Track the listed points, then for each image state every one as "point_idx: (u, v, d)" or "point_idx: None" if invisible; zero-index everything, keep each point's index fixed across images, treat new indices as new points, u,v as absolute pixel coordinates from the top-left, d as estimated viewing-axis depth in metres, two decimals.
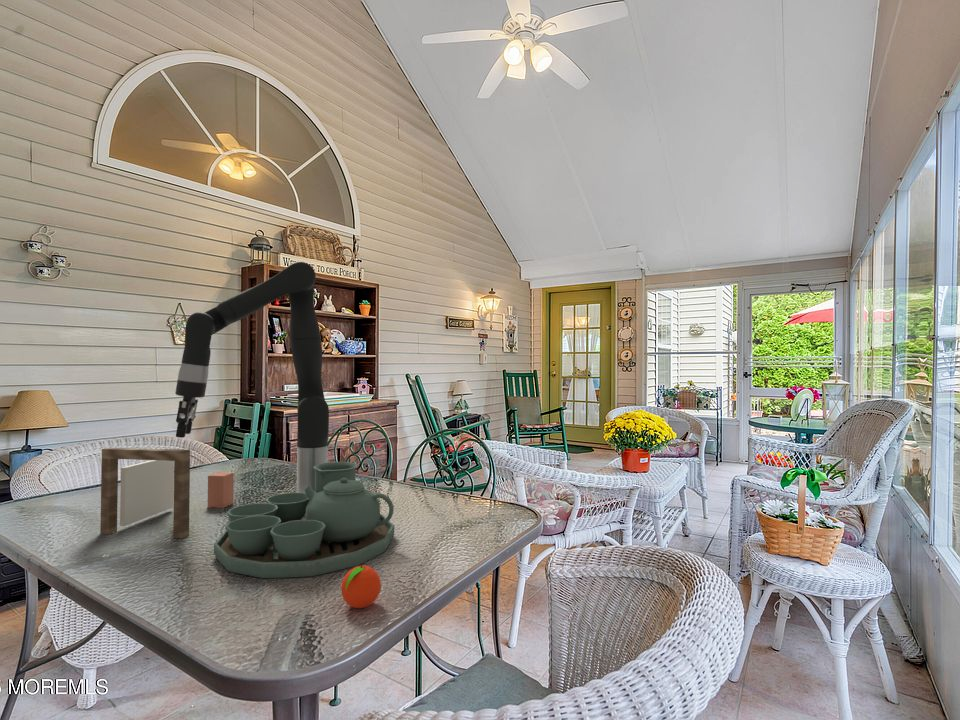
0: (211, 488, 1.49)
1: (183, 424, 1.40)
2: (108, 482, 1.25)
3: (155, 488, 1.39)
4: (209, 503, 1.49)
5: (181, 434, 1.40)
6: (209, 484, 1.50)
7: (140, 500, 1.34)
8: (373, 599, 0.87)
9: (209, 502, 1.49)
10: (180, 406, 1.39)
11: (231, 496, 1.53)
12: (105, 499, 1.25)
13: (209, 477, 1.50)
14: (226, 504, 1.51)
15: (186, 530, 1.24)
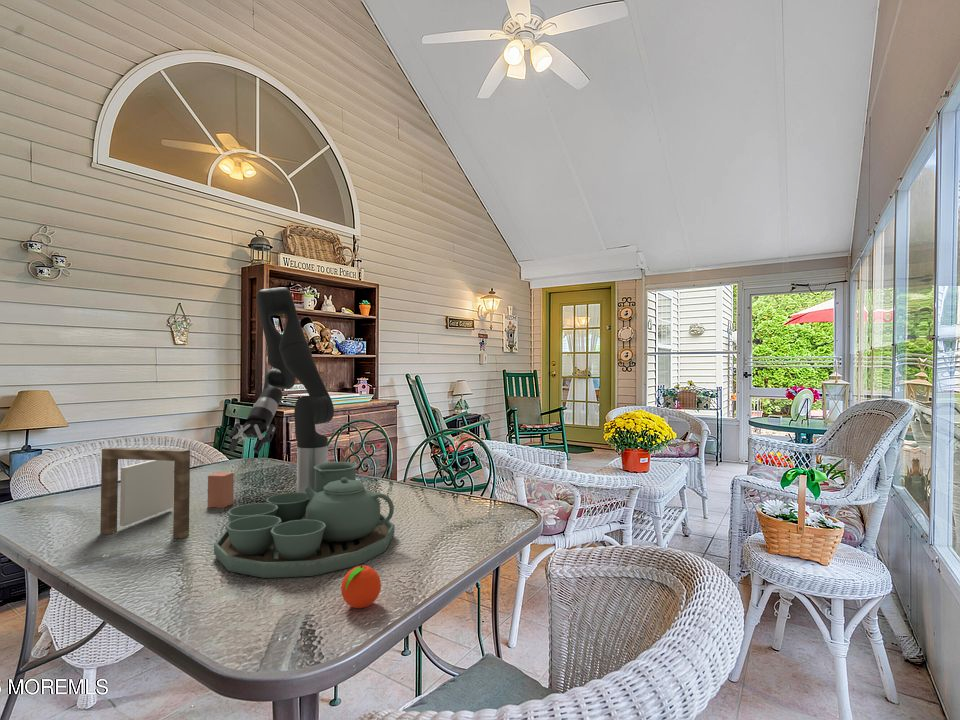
0: (211, 488, 1.49)
1: (232, 440, 1.66)
2: (108, 482, 1.25)
3: (155, 488, 1.39)
4: (209, 503, 1.49)
5: None
6: (209, 484, 1.50)
7: (140, 500, 1.34)
8: (373, 599, 0.87)
9: (209, 502, 1.49)
10: None
11: (231, 496, 1.53)
12: (105, 499, 1.25)
13: (209, 477, 1.50)
14: (226, 504, 1.51)
15: (186, 530, 1.24)
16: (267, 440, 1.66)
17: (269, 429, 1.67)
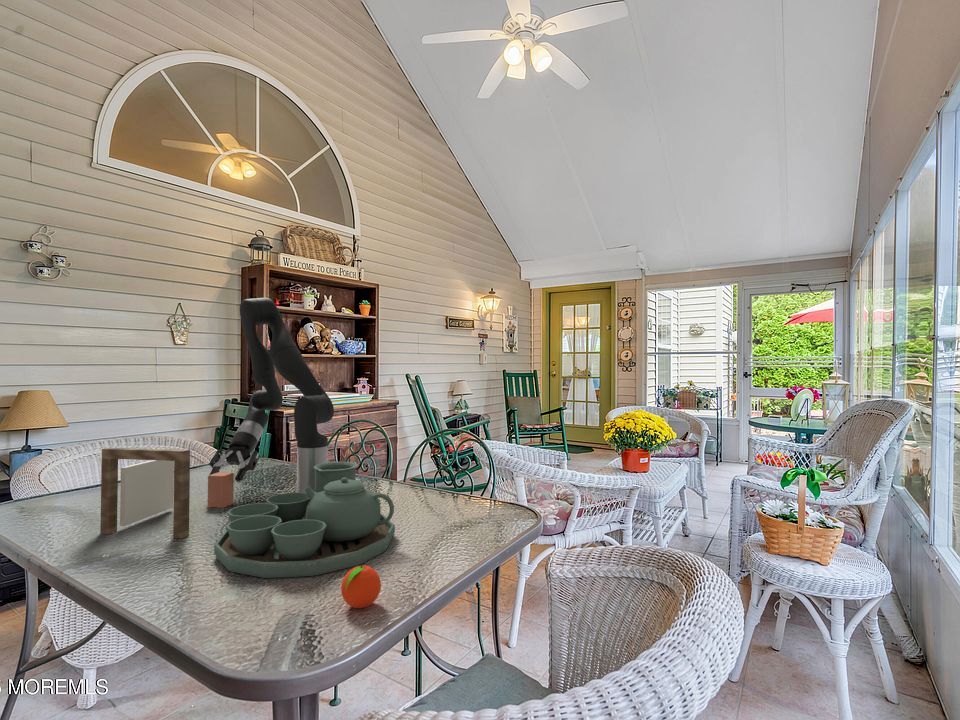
0: (211, 488, 1.49)
1: (213, 467, 1.57)
2: (108, 482, 1.25)
3: (155, 488, 1.39)
4: (209, 503, 1.49)
5: None
6: (209, 484, 1.50)
7: (140, 500, 1.34)
8: (373, 599, 0.87)
9: (209, 502, 1.49)
10: None
11: (231, 496, 1.53)
12: (105, 499, 1.25)
13: (209, 477, 1.50)
14: (226, 504, 1.51)
15: (186, 530, 1.24)
16: (250, 468, 1.56)
17: (252, 456, 1.58)
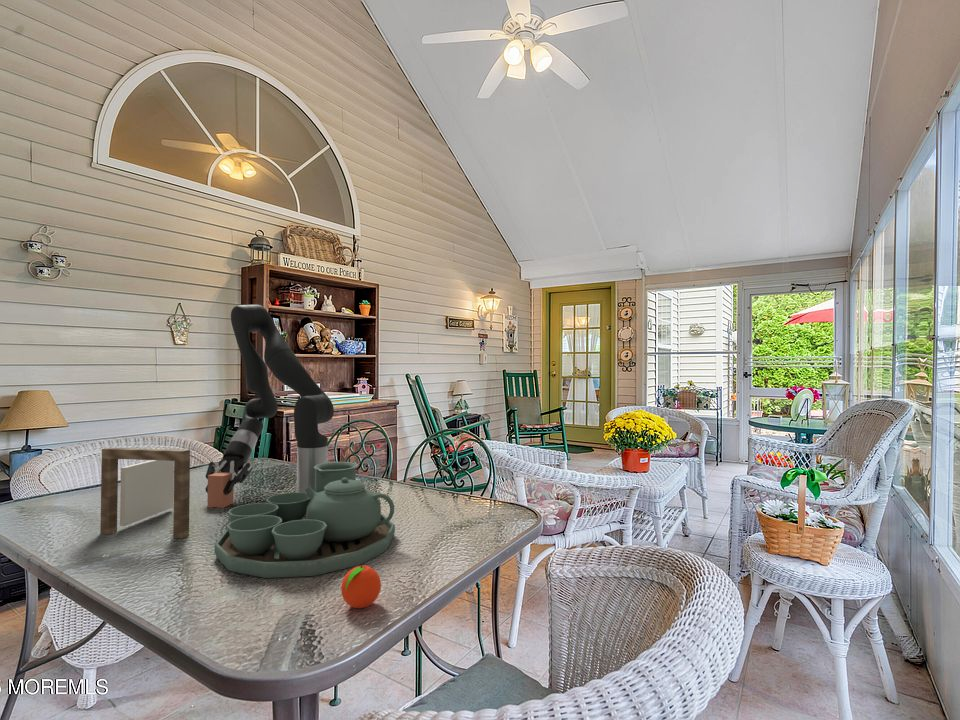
0: (211, 488, 1.49)
1: None
2: (108, 482, 1.25)
3: (155, 488, 1.39)
4: (208, 503, 1.49)
5: None
6: (209, 484, 1.50)
7: (140, 500, 1.34)
8: (373, 599, 0.87)
9: (209, 502, 1.49)
10: None
11: (231, 496, 1.53)
12: (105, 499, 1.25)
13: (209, 477, 1.50)
14: (226, 504, 1.51)
15: (186, 530, 1.24)
16: (238, 480, 1.52)
17: (244, 468, 1.54)
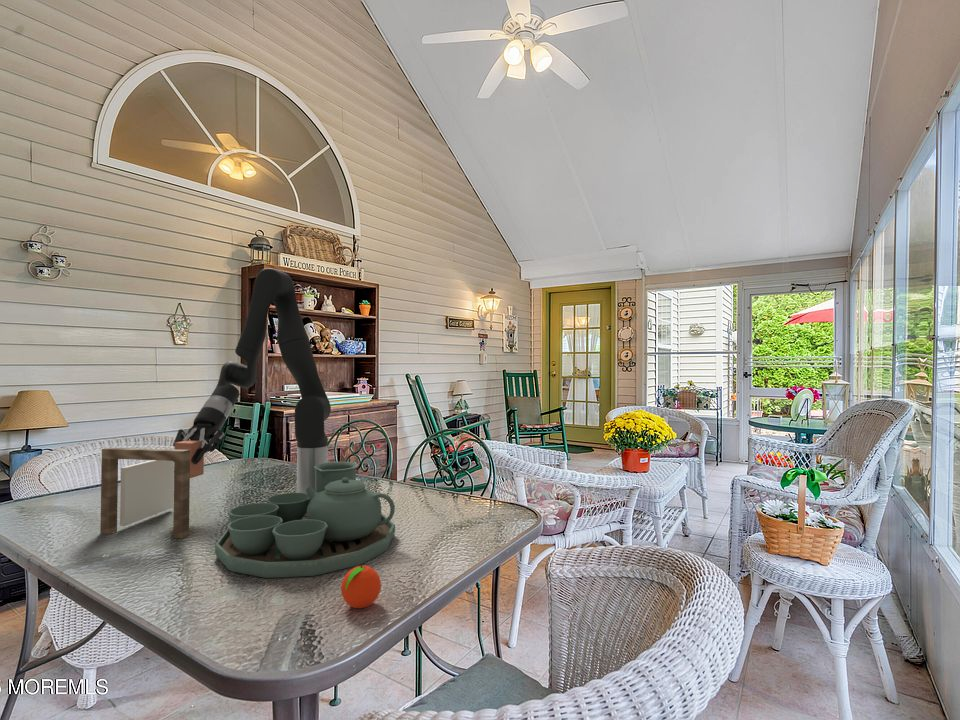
0: None
1: None
2: (108, 482, 1.25)
3: (155, 488, 1.39)
4: None
5: None
6: None
7: (140, 500, 1.34)
8: (373, 599, 0.87)
9: None
10: None
11: (201, 466, 1.40)
12: (105, 499, 1.25)
13: (176, 444, 1.36)
14: (195, 474, 1.37)
15: (186, 530, 1.24)
16: (209, 449, 1.39)
17: (215, 436, 1.41)
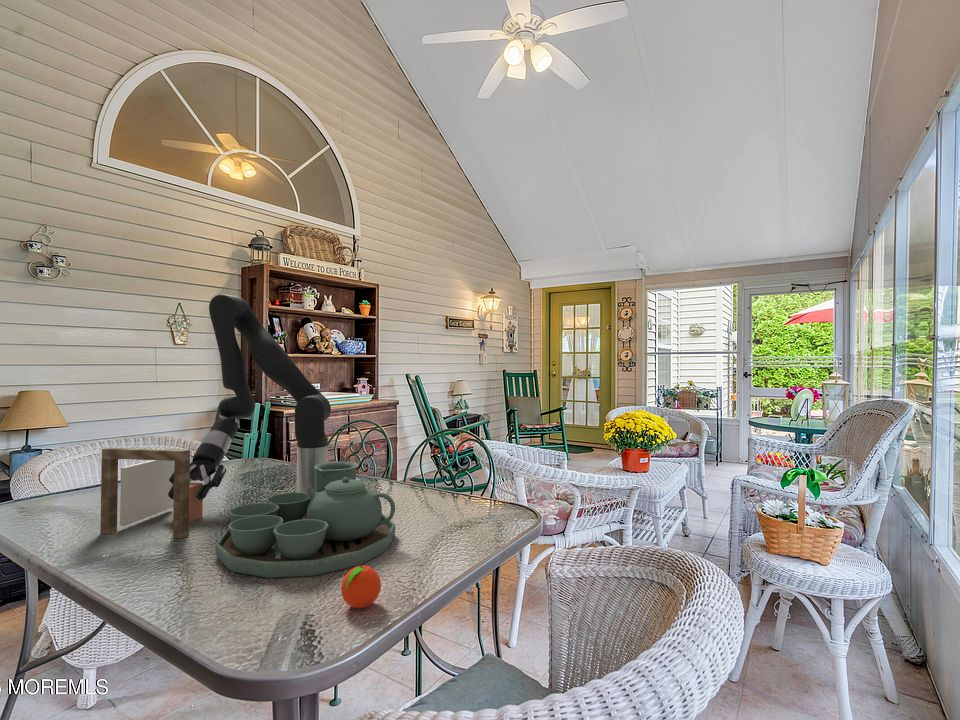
0: None
1: None
2: (108, 482, 1.25)
3: (155, 488, 1.39)
4: None
5: None
6: None
7: (140, 500, 1.34)
8: (373, 599, 0.87)
9: None
10: None
11: (200, 509, 1.39)
12: (105, 499, 1.25)
13: None
14: (194, 518, 1.37)
15: (186, 530, 1.24)
16: (214, 485, 1.39)
17: (217, 471, 1.41)
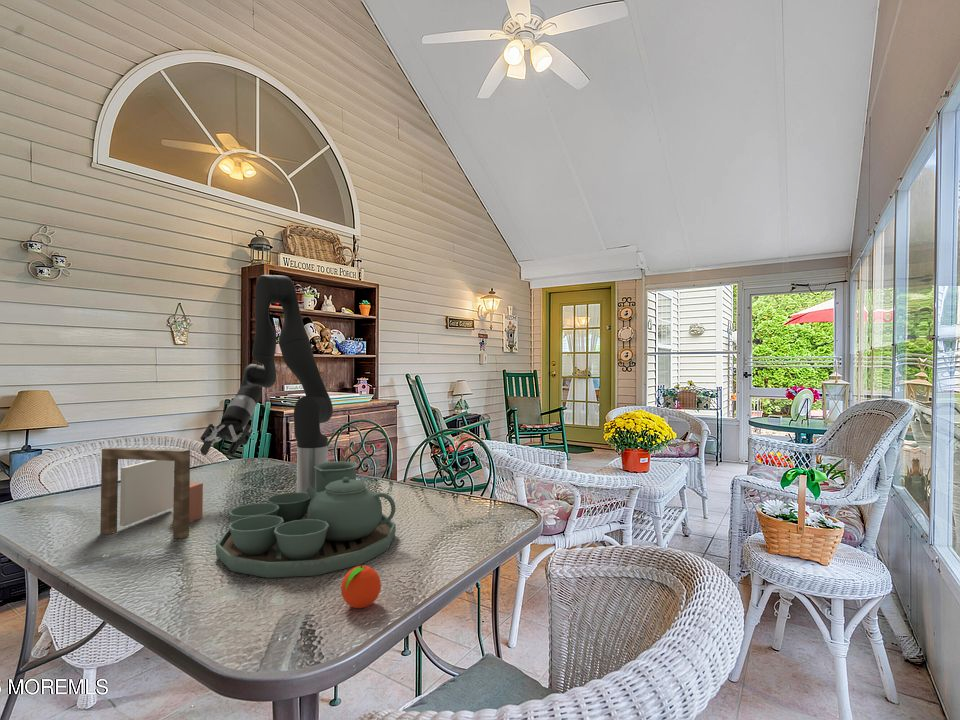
0: None
1: (204, 442, 1.52)
2: (108, 482, 1.25)
3: (155, 488, 1.39)
4: None
5: None
6: None
7: (140, 500, 1.34)
8: (373, 599, 0.87)
9: None
10: None
11: (200, 509, 1.39)
12: (105, 499, 1.25)
13: None
14: (194, 518, 1.37)
15: (186, 530, 1.24)
16: (242, 442, 1.52)
17: (245, 430, 1.54)
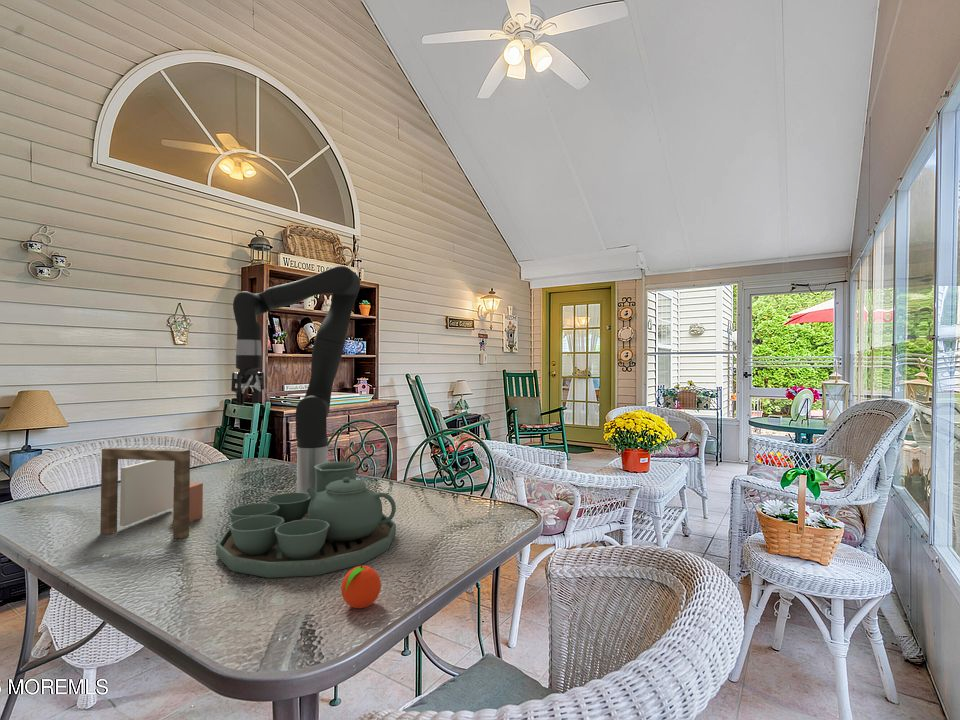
0: None
1: (239, 393, 1.55)
2: (108, 482, 1.25)
3: (155, 488, 1.39)
4: None
5: (239, 402, 1.55)
6: None
7: (140, 500, 1.34)
8: (373, 599, 0.87)
9: None
10: (233, 377, 1.54)
11: (200, 509, 1.39)
12: (105, 499, 1.25)
13: None
14: (194, 518, 1.37)
15: (186, 530, 1.24)
16: None
17: (262, 378, 1.67)
